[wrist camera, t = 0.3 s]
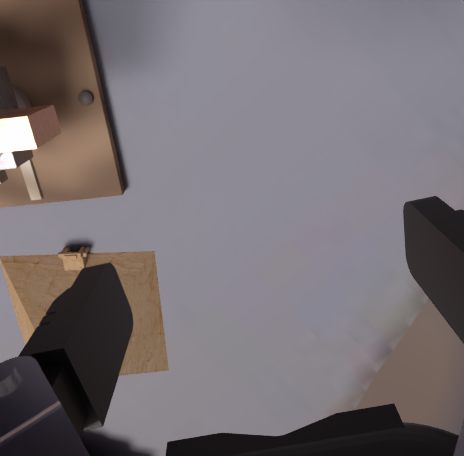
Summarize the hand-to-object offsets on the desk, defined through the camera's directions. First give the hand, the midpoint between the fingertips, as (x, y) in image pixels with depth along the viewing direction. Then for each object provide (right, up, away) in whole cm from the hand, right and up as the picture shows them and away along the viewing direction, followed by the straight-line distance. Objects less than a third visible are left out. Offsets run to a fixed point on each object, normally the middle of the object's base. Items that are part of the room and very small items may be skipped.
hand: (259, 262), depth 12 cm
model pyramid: (-17, -8, +36) cm, 41 cm away
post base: (-20, +12, +26) cm, 35 cm away
